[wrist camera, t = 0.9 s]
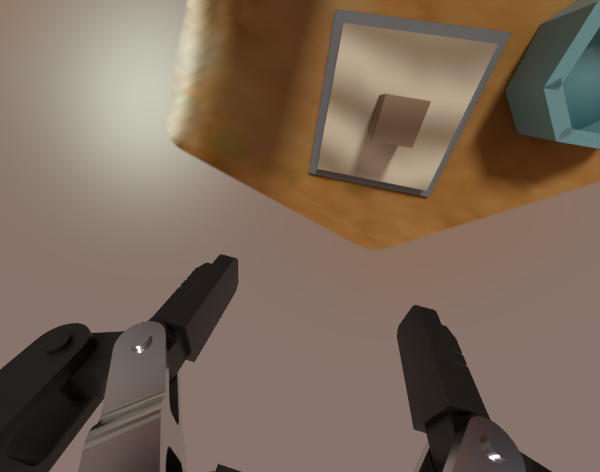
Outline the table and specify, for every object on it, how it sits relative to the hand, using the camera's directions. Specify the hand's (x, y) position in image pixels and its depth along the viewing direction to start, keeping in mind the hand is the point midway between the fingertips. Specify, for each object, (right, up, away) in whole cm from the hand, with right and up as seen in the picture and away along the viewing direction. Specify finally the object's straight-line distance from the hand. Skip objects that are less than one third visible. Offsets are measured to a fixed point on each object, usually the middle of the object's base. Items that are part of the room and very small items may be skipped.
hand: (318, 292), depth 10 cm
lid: (+9, +15, +13) cm, 22 cm away
